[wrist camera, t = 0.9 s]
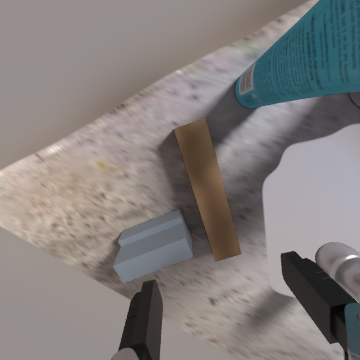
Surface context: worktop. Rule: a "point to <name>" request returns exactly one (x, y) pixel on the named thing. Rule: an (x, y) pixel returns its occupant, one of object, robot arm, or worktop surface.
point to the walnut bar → (208, 188)
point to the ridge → (153, 246)
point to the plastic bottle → (341, 266)
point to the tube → (308, 58)
